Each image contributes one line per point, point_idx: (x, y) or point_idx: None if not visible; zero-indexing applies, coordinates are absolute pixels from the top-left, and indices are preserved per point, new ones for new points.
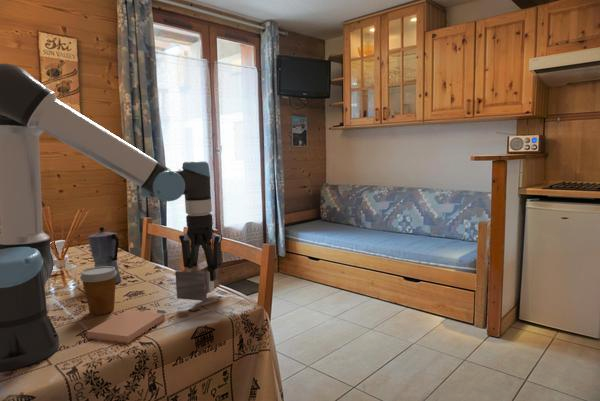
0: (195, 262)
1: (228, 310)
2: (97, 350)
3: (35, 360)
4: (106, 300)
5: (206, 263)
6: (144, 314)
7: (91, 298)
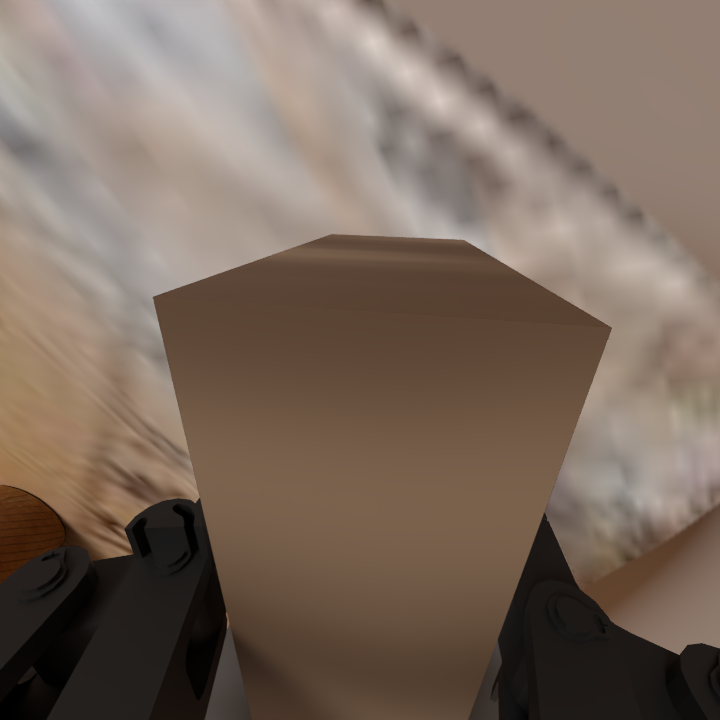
0: (186, 703)
1: (600, 486)
2: None
3: None
4: None
5: (358, 585)
6: None
7: None
